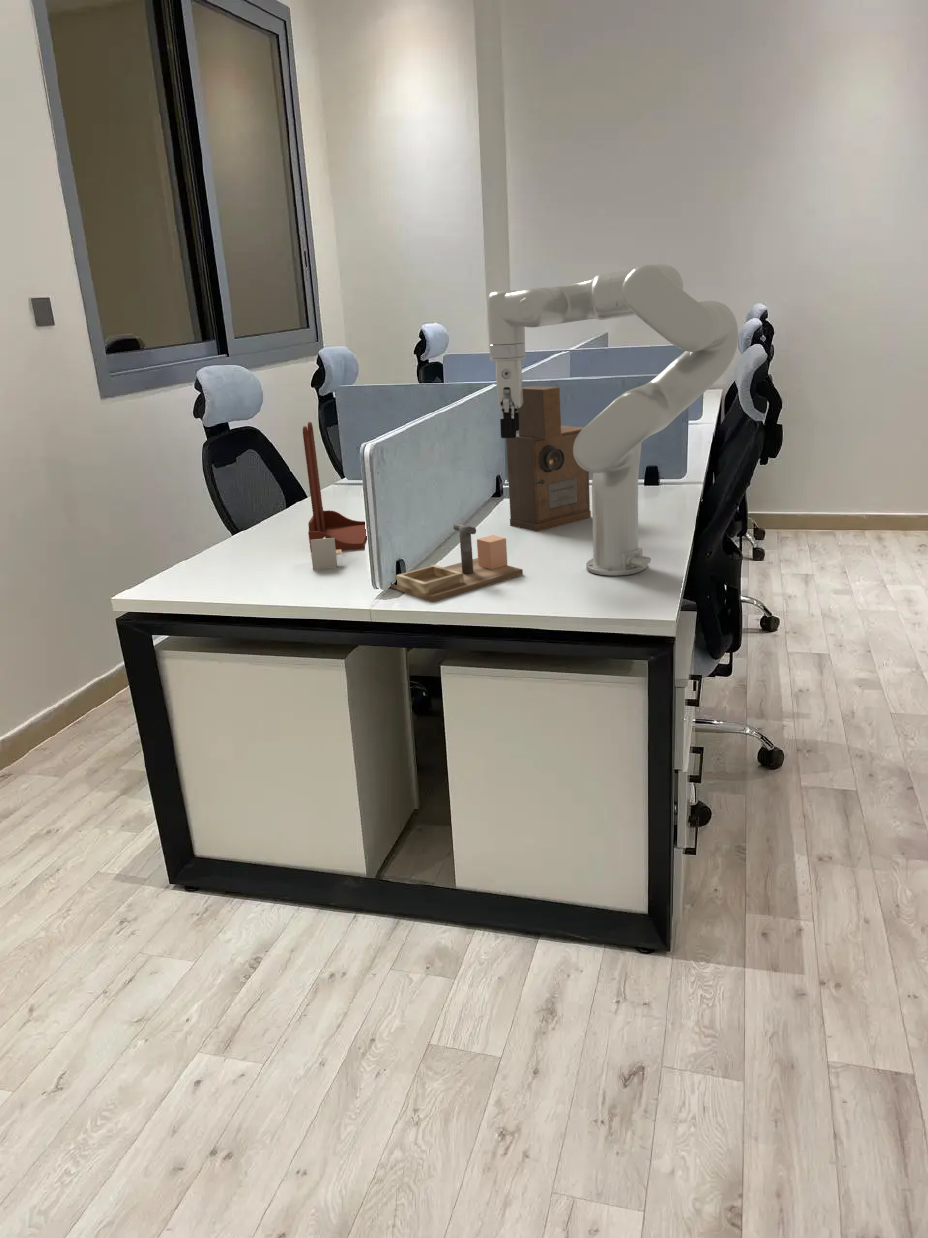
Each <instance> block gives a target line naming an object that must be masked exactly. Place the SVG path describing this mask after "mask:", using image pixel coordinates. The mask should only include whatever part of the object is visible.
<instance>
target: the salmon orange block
mask: <svg viewBox="0 0 928 1238" xmlns="http://www.w3.org/2000/svg"><path fill="white" fill-rule="evenodd" d="M476 544H477V545H476V547H477V549H476V550H477V558H478V565H479V566H481V567H485V568H488V569H495V568H498V567H502V566H505V565H508V549H507V538H506V537H503V536H498V535H495V534H491V535H487V536H485V537H480V538H476Z"/></svg>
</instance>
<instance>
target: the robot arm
mask: <svg viewBox="0 0 928 1238" xmlns="http://www.w3.org/2000/svg"><path fill="white" fill-rule="evenodd" d="M683 283H684V282H683V278H682V276H681V274H680V272H679V271H678V270H677V269H676V268H675V267H673V266H671V265H669V264H665V263H663V264H661V263H657V264H654V263H653V264H643V265H640V266H638V267H636V268H632V269H631V268H630V269H624V270H619V271H612V272H606V273H600V274H597V275H595V276H594V277H593V278H592V279H590V280H585V281H581V282H576V283H571V284H565V285H558V286H546V287H534V288H527V289H523V290H514V289H513V290H499V291H498V290H496V291H492V292H490V293H489V295H488V297H487V315H488V316H487V317H488V318H487V319H488V320H487V321H488V340H489V341H488V342H489V362H495V380H496V382H495V383H496V394H497V395H496V397H497V407H498V408H499V409H500V419H499V421H500V423H499V424H500V437H501V439H506V438H515V437H516V434H517V432H519V412H518V408H520V407H521V406H522V404H523V371H522V370H523V369H522V361H521V360H526V333H525V331H526V329H525V328H540V327H546V326H554V325H561V324H566V323H567V324H568V323H572V322H580V321H586V320H587V321H588V320H599V321H605V320H612V319H618V318H625V317H632V316H637V317H638V318H639V319H640V320H642V321H643V322H644V323H645V324H646V325H647V326H649V328H651V329H653V331H655V332H656V333H657V334H658V335H659V336H661V337H662V338H663V339H665V340H667V341H668V342H669V343H670V344H672V345H673V346H674V347H675V348H677V349H680V350H682V351H684V352H683V353H681V354H680V355H679V356H678V357H677V358H675V359H674V360H673V361H672V362H671V363H669V364H668V365H667V367H666V368H664V369H663V370H662V371H661V372H660V373H659V374H657V376H655V377H654V378H653V379H652V380H650V381H649V382H647V383H645V384H642V385H640V386H637V387H634V388H631V389H629V390H626V391H624V392H623V393H622V394H620V395H619V396H617V398H615V399H614V400H613V401H611V403H610V404H608V405H607V406H606V407H605V408H604V409H603V410H602V411H601V412H600V413H598V414H597V415H596V416H595V417H594V418H593V419H591V421H590V422H588V424H586V426H584V427H582V428H583V429H582V430H581V431H580V432H579V434H578V435H577V437H576V439H575V442H574V446H573V454H574V458H575V460H576V462H577V464H578V465H579V466H580V467H581V468H582V469H584V470H586V471H588V472H589V473H590V474H591V473H592V480H591V504H592V505H591V507H592V511H591V512H592V513H591V514H592V515H591V517H592V547H593V548H592V553H593V555H592V556H593V558H591V559H589V560H588V561H587V562H586V564H585V565H586V570H587V571H588V572H590V573H592V574H596V575H600V576H601V575H602V576H610V577H611V576H612V577H613V576H614V577H616V576H617V577H618V576H627V575H634V574H638V573H640V572H642V571H644V570H645V569H646V568H647V567H648V565H649V564H650V563H651V561H652V560H651V559H652V558H651V557H650V556H646V555H643V548H642V547H639V471H640V469H639V468H640V462H641V453H642V443H643V442H644V441H645V440H646V439H647V438H649V437H650V436H652V435H655V434H657V433H659V432H662V431H663V430H665V428H666V427H668V426H669V425H670V424H671V423H672V422H674V420H675V419H676V418H677V417H678V416H680V414H681V413H683V412H685V410H686V409H688V408H689V407H690V406H691V405H692V404H693V403H694V402H696V401H697V399H699V398H700V397H701V396H702V395H703V394H704V393H705V392H707V390H709V389H710V388H711V387H712V386H713V385H714V384H715V383H716V382H718V380H720V378H721V377H722V376H723V375H724V374H725V372H726V371H727V370H728V369H729V367H730V365H731V363H732V361H733V359H734V357H735V354H736V352H737V350H738V349H737V348H738V345H739V327H738V322H737V318H736V316H735V314H734V312H733V311H732V309H731V308H729V306H727V305H726V304H724V303H722V302H720V301H716V300H706V301H697V300H696V299H695V298H693V297H692V296H691V295H689V294H688V293H687V292H685V291H684V284H683Z"/></svg>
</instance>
